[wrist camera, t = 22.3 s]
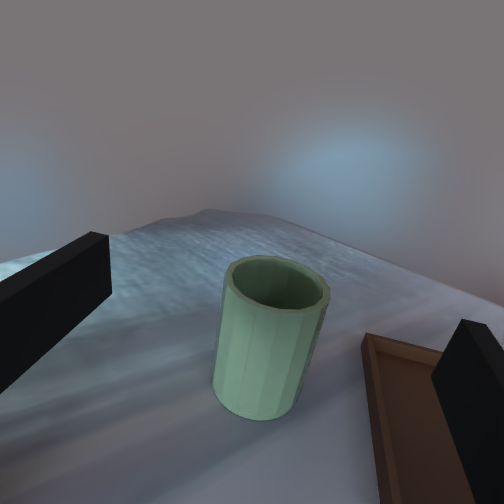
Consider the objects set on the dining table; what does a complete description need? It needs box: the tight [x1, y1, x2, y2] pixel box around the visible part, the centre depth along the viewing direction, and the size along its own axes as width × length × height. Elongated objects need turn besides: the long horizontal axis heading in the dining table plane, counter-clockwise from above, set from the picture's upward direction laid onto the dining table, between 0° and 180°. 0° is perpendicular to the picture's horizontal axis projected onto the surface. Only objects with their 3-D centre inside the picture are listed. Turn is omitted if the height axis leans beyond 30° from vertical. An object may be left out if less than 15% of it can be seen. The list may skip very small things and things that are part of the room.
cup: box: [212, 255, 330, 421], centre depth 25 cm, size 7×7×10 cm
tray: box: [361, 333, 476, 504], centre depth 25 cm, size 19×16×2 cm
